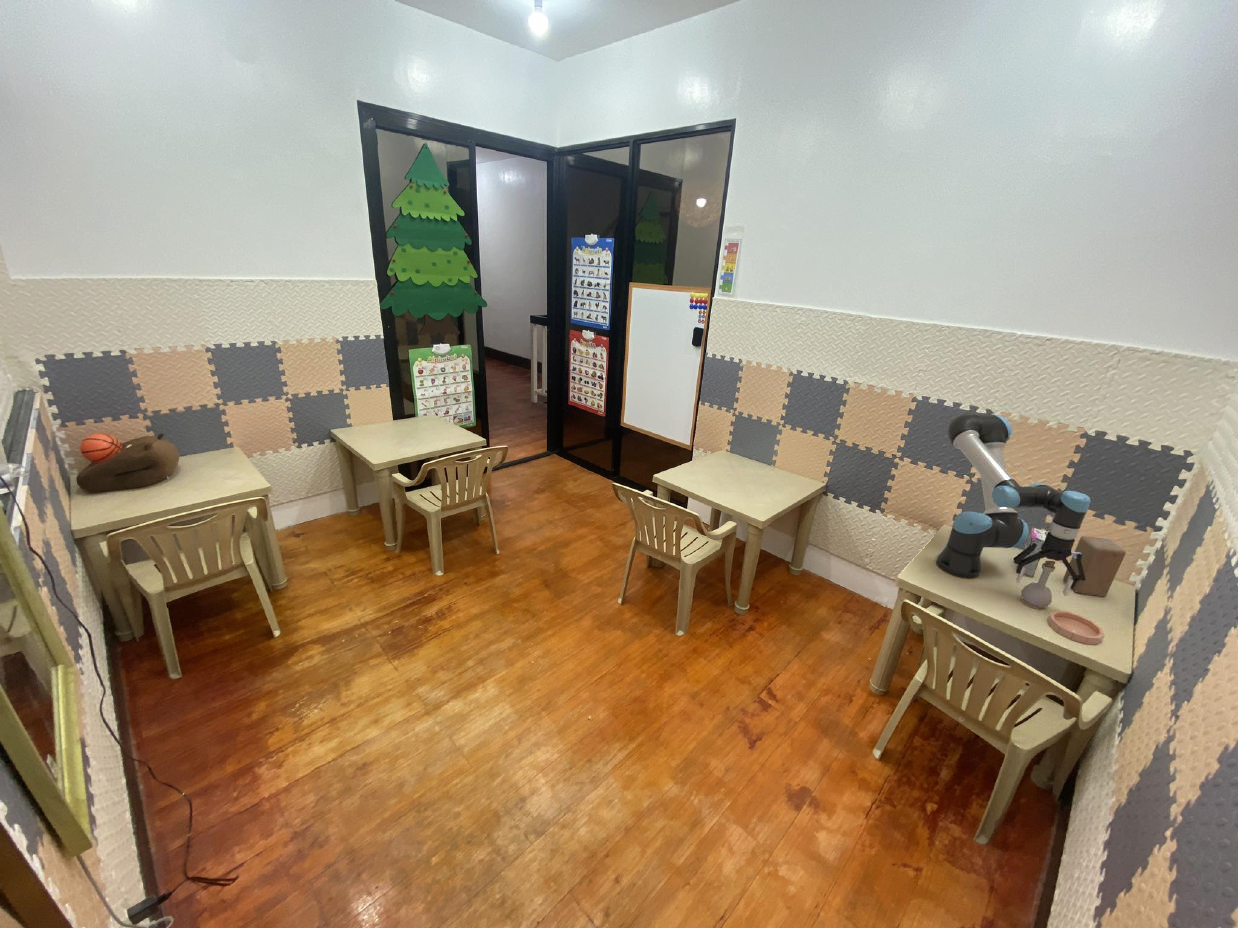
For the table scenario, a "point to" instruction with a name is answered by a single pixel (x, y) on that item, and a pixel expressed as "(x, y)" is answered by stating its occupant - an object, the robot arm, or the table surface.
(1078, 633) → the saucer
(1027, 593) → the potion bottle
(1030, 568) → the candy bar box
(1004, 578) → the table surface
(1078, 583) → the wooden block
